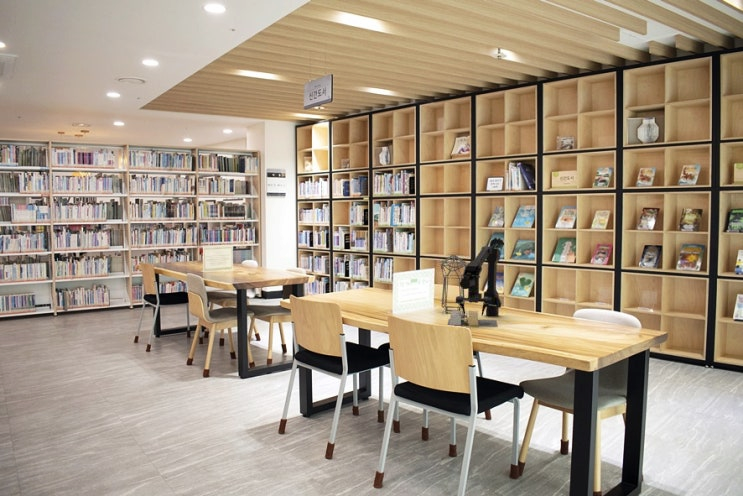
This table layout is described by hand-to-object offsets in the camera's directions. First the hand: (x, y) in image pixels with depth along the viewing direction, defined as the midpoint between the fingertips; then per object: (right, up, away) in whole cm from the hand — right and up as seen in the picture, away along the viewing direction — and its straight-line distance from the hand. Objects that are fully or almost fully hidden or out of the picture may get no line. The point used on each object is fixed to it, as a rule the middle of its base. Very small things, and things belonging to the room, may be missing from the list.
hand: (473, 315), depth 313 cm
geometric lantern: (-6, -2, +36) cm, 36 cm away
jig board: (0, -5, +1) cm, 5 cm away
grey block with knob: (-7, -4, +2) cm, 9 cm away
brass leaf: (-1, -4, +1) cm, 4 cm away
